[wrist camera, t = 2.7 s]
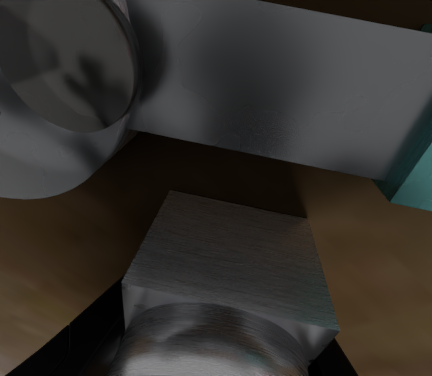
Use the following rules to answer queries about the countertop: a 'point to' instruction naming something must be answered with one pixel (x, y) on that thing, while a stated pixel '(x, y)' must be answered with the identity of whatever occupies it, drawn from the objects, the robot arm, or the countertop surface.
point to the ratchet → (211, 89)
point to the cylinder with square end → (224, 294)
